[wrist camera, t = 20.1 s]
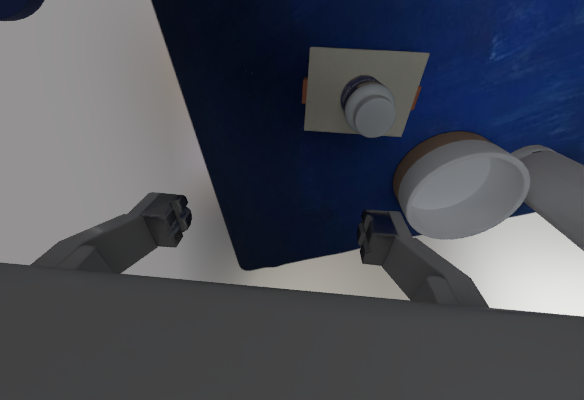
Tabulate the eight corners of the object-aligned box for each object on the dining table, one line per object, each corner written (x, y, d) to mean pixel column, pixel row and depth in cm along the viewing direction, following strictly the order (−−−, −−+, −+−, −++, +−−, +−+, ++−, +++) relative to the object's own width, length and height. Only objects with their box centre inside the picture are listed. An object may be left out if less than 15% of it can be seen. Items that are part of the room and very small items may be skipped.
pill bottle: (369, 63, 28) (390, 76, 20) (387, 100, 30) (412, 124, 23) (331, 92, 30) (337, 113, 23) (351, 124, 33) (363, 153, 25)
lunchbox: (301, 118, 38) (300, 130, 34) (306, 44, 32) (305, 46, 28) (394, 124, 38) (405, 137, 33) (418, 50, 31) (435, 53, 27)
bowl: (418, 223, 50) (434, 252, 43) (374, 172, 43) (385, 198, 36) (508, 178, 42) (545, 206, 35) (471, 108, 35) (508, 126, 28)
